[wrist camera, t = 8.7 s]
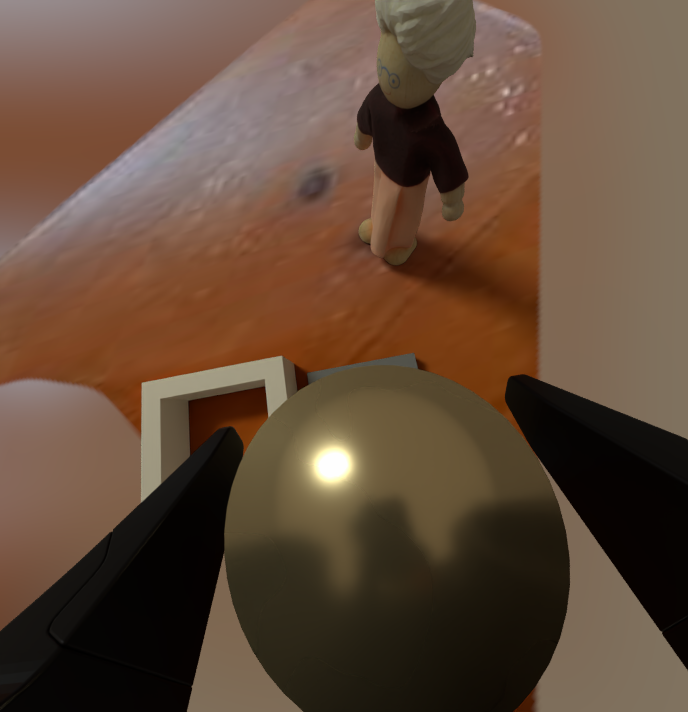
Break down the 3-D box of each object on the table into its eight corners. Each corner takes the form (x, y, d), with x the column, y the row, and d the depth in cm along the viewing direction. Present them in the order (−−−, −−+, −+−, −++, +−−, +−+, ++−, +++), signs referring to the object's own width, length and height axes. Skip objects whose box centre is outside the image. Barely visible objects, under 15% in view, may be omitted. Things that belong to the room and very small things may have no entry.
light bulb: (426, 474, 15) (732, 810, 2) (338, 488, 15) (184, 853, 3) (406, 385, 16) (536, 288, 4) (324, 400, 16) (173, 360, 4)
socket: (312, 504, 16) (301, 521, 14) (174, 526, 17) (140, 545, 14) (293, 363, 18) (281, 355, 16) (171, 386, 19) (141, 382, 16)
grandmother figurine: (336, 237, 20) (279, -51, 7) (366, 201, 20) (361, -129, 8) (420, 291, 18) (526, 38, 6) (452, 251, 19) (612, -64, 6)
